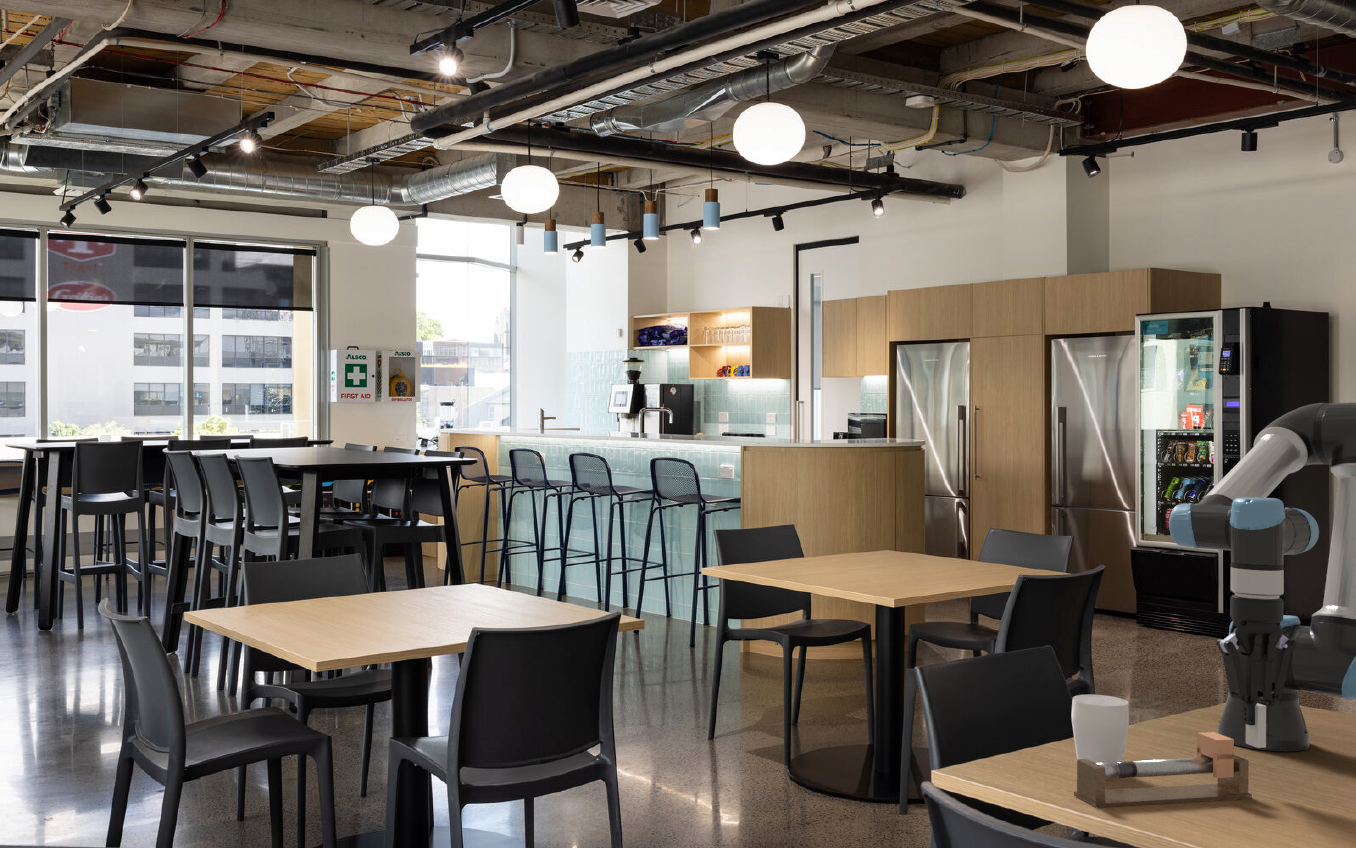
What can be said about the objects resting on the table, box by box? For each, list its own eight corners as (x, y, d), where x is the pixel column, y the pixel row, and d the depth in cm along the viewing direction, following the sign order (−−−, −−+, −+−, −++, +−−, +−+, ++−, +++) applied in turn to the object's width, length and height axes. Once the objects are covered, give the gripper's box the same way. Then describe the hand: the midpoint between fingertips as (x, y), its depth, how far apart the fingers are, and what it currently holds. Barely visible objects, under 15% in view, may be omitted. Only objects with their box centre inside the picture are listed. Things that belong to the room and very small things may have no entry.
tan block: (1213, 768, 182) (1213, 732, 182) (1233, 777, 178) (1233, 739, 178) (1196, 769, 182) (1197, 732, 182) (1216, 778, 177) (1216, 740, 177)
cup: (1133, 782, 185) (1134, 708, 185) (1074, 778, 187) (1075, 704, 187) (1123, 767, 194) (1124, 696, 194) (1067, 763, 196) (1068, 693, 196)
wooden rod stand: (1225, 787, 183) (1225, 751, 184) (1251, 798, 178) (1251, 761, 178) (1073, 795, 178) (1074, 758, 178) (1096, 808, 172) (1096, 769, 172)
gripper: (1274, 591, 187) (1273, 738, 186) (1204, 592, 184) (1203, 741, 184) (1309, 598, 180) (1308, 750, 179) (1237, 599, 177) (1236, 753, 176)
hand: (1255, 745), depth 181 cm, fingers closed
